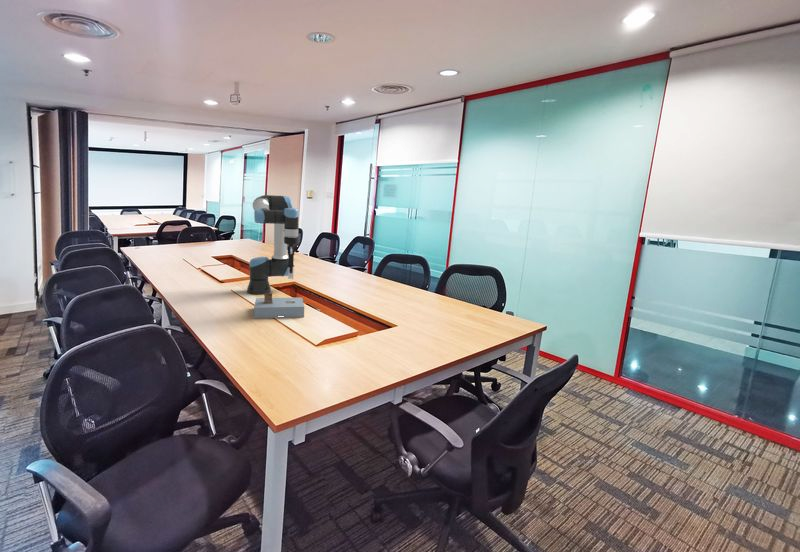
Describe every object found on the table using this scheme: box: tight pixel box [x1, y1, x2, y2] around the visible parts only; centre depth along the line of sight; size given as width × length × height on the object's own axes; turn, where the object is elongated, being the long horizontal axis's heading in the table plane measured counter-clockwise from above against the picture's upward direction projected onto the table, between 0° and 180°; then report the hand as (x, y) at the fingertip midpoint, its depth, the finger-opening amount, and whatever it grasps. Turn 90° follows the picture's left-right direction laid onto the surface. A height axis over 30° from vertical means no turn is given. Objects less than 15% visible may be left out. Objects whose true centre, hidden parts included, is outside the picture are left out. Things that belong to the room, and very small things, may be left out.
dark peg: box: [263, 292, 273, 304], centre depth 222 cm, size 4×4×6 cm
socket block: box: [253, 296, 305, 319], centre depth 224 cm, size 20×26×6 cm
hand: (290, 278), depth 223 cm, fingers closed
